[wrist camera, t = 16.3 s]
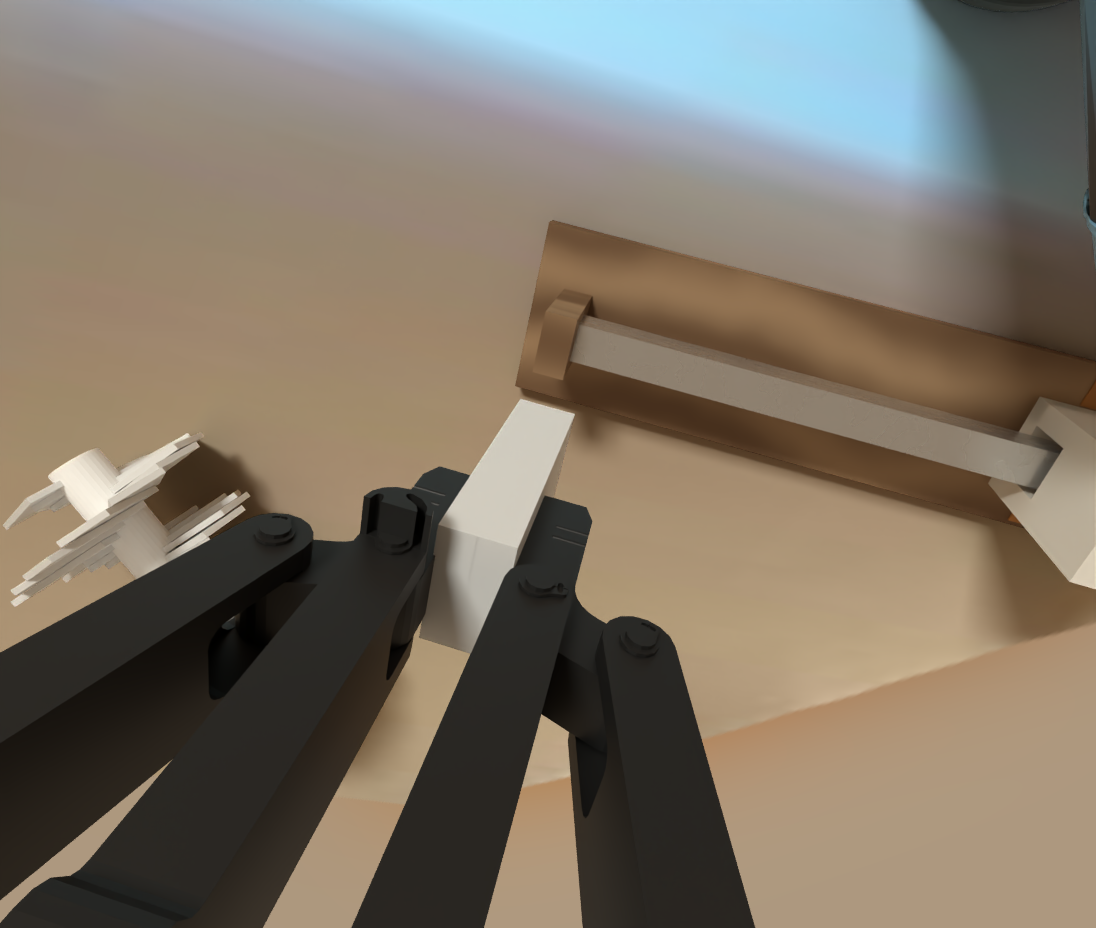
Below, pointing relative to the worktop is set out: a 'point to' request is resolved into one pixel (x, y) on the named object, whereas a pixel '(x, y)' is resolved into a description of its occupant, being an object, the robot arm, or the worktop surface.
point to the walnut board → (785, 359)
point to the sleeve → (1061, 490)
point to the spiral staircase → (118, 516)
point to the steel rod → (815, 402)
